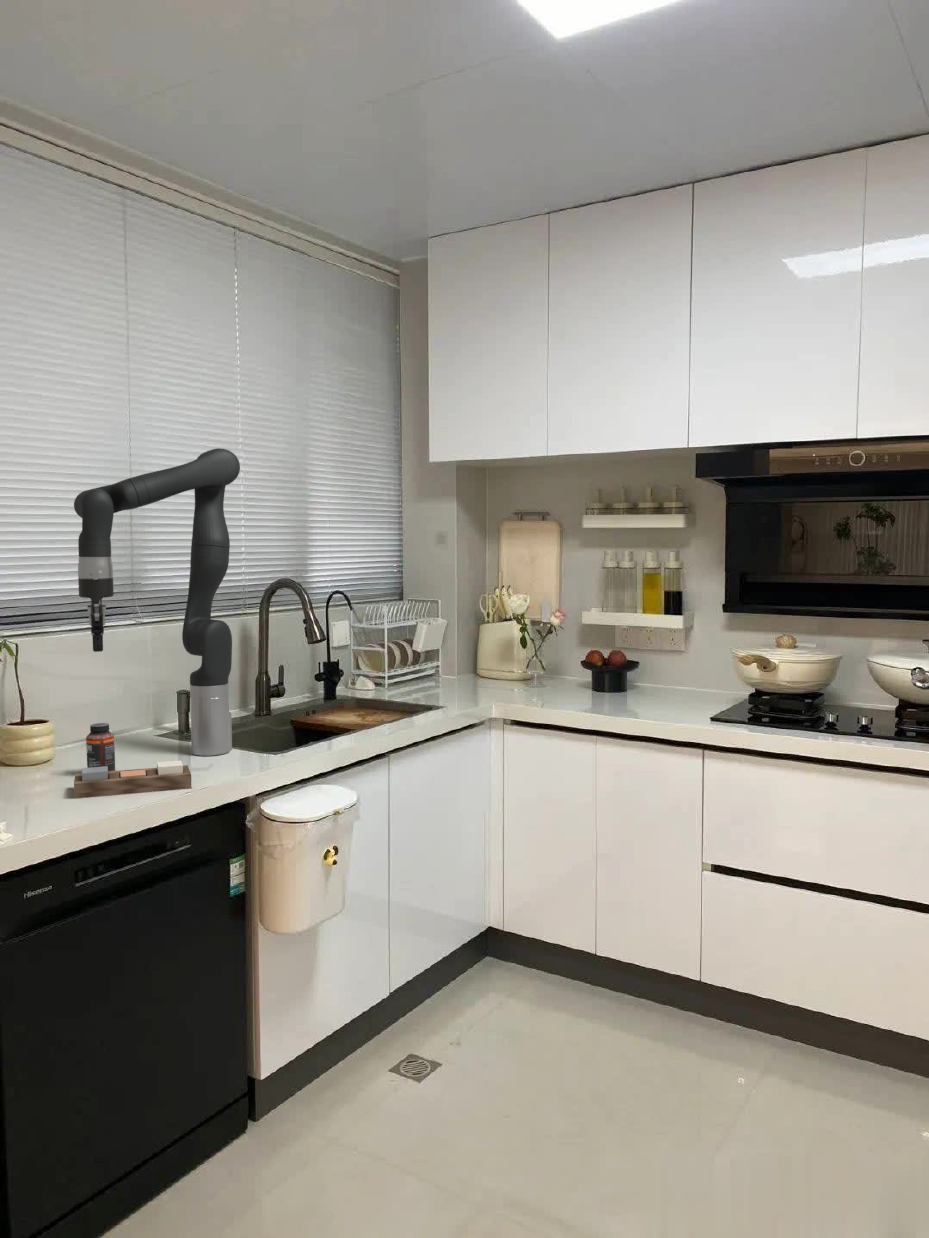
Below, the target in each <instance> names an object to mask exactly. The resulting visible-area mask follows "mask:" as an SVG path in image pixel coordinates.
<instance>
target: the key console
mask: <svg viewBox="0 0 929 1238" xmlns="http://www.w3.org/2000/svg"><path fill="white" fill-rule="evenodd" d="M133 770H145V772H146V776H141V777H129V778H121V777H120V772H121V771H133ZM190 787H191V788H192V772H191V769H190V768H189V765H187V764H186V765H185V764H184V765H183V773H178V774H166V775H158V773H157V767H149V768H148V767H147V768H136V769H124V770H121V769H120V770H115V771H108V779H105V780H93V781H82V773H75V774H74V780H73V793H74V794H73V795H74V797H73V798H74V799H82V798H84V797H85V798H93V797H94V798H95V797H104V796H117V795H130V794H138V793H139V794H140V793H149V792H150V793H151V792H152V791H153V792H162V791H163V792H164V791H175V790H185V788H187V789H191V788H190ZM153 792H152V793H153ZM85 798H84V799H85Z"/></svg>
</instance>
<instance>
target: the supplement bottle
mask: <svg viewBox="0 0 929 1238" xmlns="http://www.w3.org/2000/svg"><path fill="white" fill-rule="evenodd" d="M89 730H90V732H89V734H87V736H86V738H85V742H86V744H85V745H86V766H87V767H86V768H91V767H104V766H108V771H116V753H115V752H116V751H115V735H114V734H113V733H112V732H110V724H109V723H108V722H96V723H92V724H90V725H89Z"/></svg>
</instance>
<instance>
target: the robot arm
mask: <svg viewBox="0 0 929 1238" xmlns="http://www.w3.org/2000/svg"><path fill="white" fill-rule="evenodd" d="M240 470H241V463H240V461H239V459H238V457H237V455H236V454H235V453H234V452H232V451H231V450H229V449H226V448H220V447H219V448H213V449H210V450H209V449H208V450H206V451H204V452H202V453H200V455H199V456H197V458H196V459H195V460H191V461H189V462H186V463H183V464H180V465H177V466H173V467H170V468H165V469H161V470H155V471H151V472H148V473H147V472H146V473H143V474H139V475H137V476H132V477H129V478H125V479H123V480H120V481H117V482H115V483H112V484H108V485H103V486H99V487H95V488H90V489H86V490H84V491H81V492H79V494H77V495H76V497H75V499H74V502H73V509H74V511H75V513H76V514H77V516H78V517H80V518H81V522H82V523H81V532H80V534H79V535H78V539H77V540H78V545H77V546H78V549H77V550H78V563H77V577H78V579H77V580H78V585H77V586H78V597H79V598H85V599H86V598H87V599H90V601H91V602H90V603H91V604H88V605H87V613H88V620H89V621H88V625H89V626H90V627H91V628H90V629H91V630H90V634H91V636H92V651H93V652H95V653H96V652H99V653H100V652H103V651H104V634H105V631H104V626H105V625H106V613H107V606H106V604H103V601H102V600H103V598H113V597H114V595H115V593H114V591H115V590H114V568H113V567H114V566H113V565H114V564H113V560H112V542H111V534H112V530H113V523H114V514H117V513H119V512H122V511H129V510H134V509H137V508H140V507H145V506H148V505H150V504H154V503H156V502H157V503H158V502H160V501H162V500H165V499H168V498H170V497H174V496H176V495H179V494H182V493H184V492H188V491H192V490H194V510H193V511H194V512H193V522H192V523H193V524H192V532H191V533H192V534H191V535H192V536H191V543H190V545H191V546H190V561H189V563H190V565H189V566H190V567H189V568H190V569H189V570H190V571H189V579H188V594H187V601H186V607H185V613H184V620H183V624H182V632H181V633H182V635H181V636H182V637H181V640H182V645H183V647H184V649H185V651H186V652H187V653H188V654H190V655H191V656H197V657H198V656H199V657H201V665H200V667H199V668H198V669H197V670H194V671H192V672H191V673H190V675H189V692H190V693H189V695H190V736H191V738H190V740H191V742H190V744H191V754H192V755H195V756H200V757H201V756H207V757H208V756H220V755H224V754H228V753H229V752H230V751H231V750H232V749H233V731H232V730H233V729H232V728H233V727H232V723H233V722H232V712H230V697H229V693H230V691H229V677H230V674H231V672H232V671H231V670H232V660H233V659H232V658H233V657H232V655H233V654H232V653H233V637H232V636H233V635H232V631H231V629H230V627H229V625H228V624H227V623H226V622H225V621H223V620H220V619H212V618H211V617H212V607H213V601H214V597H215V596H216V592H217V590H218V589H219V587H220V585H221V584H222V582H223V580H224V578H225V576H226V574H227V572H228V569H229V563H230V547H231V546H230V545H231V544H230V541H231V540H230V535H229V529H228V526H227V522H226V517H225V511H224V505H225V504H224V501H225V492H226V486H228V485H230V484H232V483H233V482H234V481H235V480H236V479H237V478H238V476H239V474H240Z"/></svg>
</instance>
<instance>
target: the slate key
mask: <svg viewBox="0 0 929 1238" xmlns="http://www.w3.org/2000/svg"><path fill="white" fill-rule="evenodd" d="M81 774H82V781H93V780H105V779H108V766H104V767H91V768H87V767H82V768H81Z"/></svg>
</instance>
